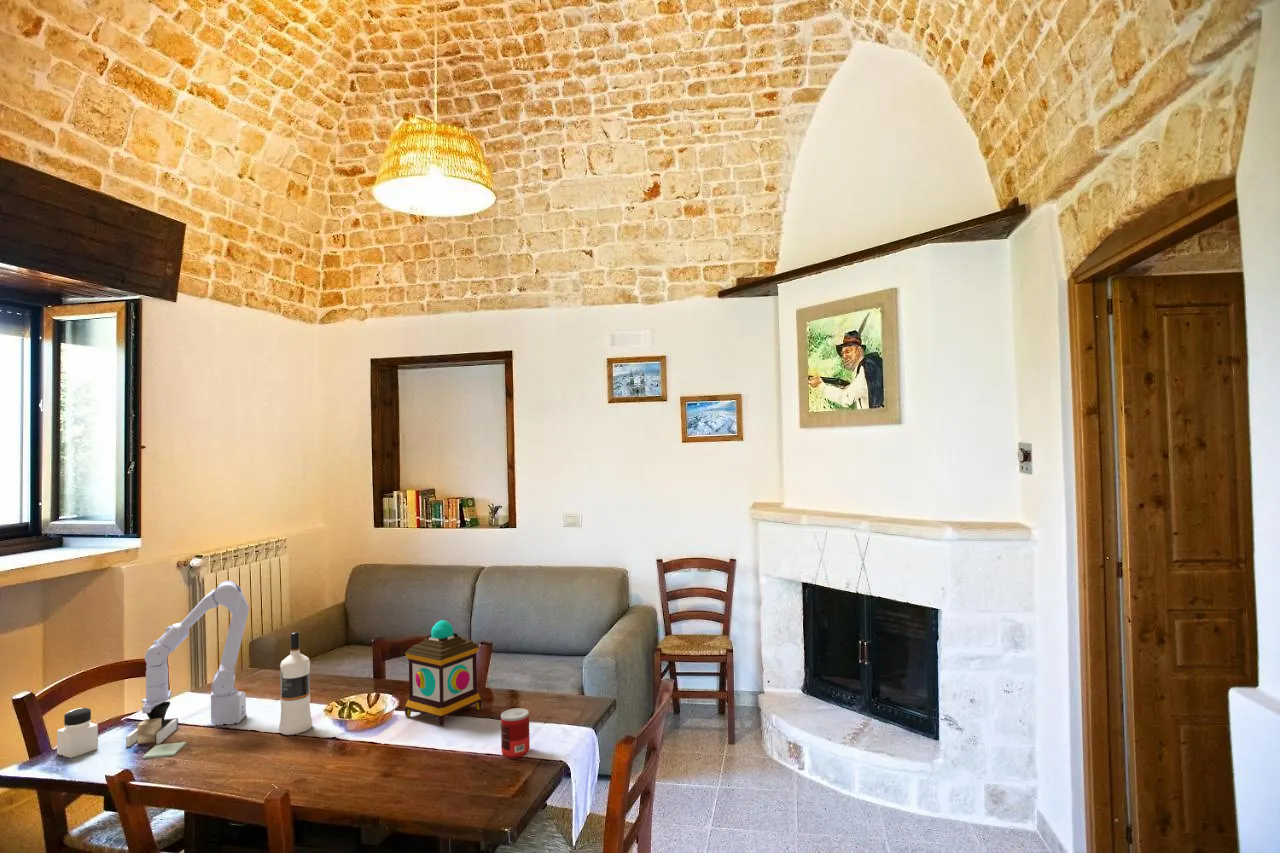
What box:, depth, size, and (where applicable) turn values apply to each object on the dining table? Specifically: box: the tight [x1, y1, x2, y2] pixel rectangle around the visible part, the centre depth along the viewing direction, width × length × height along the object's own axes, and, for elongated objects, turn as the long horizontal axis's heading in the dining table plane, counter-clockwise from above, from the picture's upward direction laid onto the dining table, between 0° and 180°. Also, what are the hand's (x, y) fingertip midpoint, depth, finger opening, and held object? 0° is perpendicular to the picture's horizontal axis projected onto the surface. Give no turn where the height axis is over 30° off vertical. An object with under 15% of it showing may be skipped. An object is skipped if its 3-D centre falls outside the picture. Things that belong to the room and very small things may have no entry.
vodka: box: [278, 631, 313, 736], centre depth 216 cm, size 9×9×30 cm
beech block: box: [137, 718, 162, 744], centre depth 211 cm, size 4×4×6 cm
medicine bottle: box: [56, 707, 99, 759], centre depth 204 cm, size 7×7×12 cm
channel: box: [125, 717, 179, 748], centre depth 213 cm, size 9×12×3 cm
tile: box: [142, 741, 187, 760], centre depth 202 cm, size 8×8×1 cm
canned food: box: [500, 707, 531, 759], centre depth 196 cm, size 8×8×11 cm
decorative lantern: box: [404, 619, 482, 727], centre depth 227 cm, size 20×20×30 cm
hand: (157, 728), depth 216 cm, fingers closed
